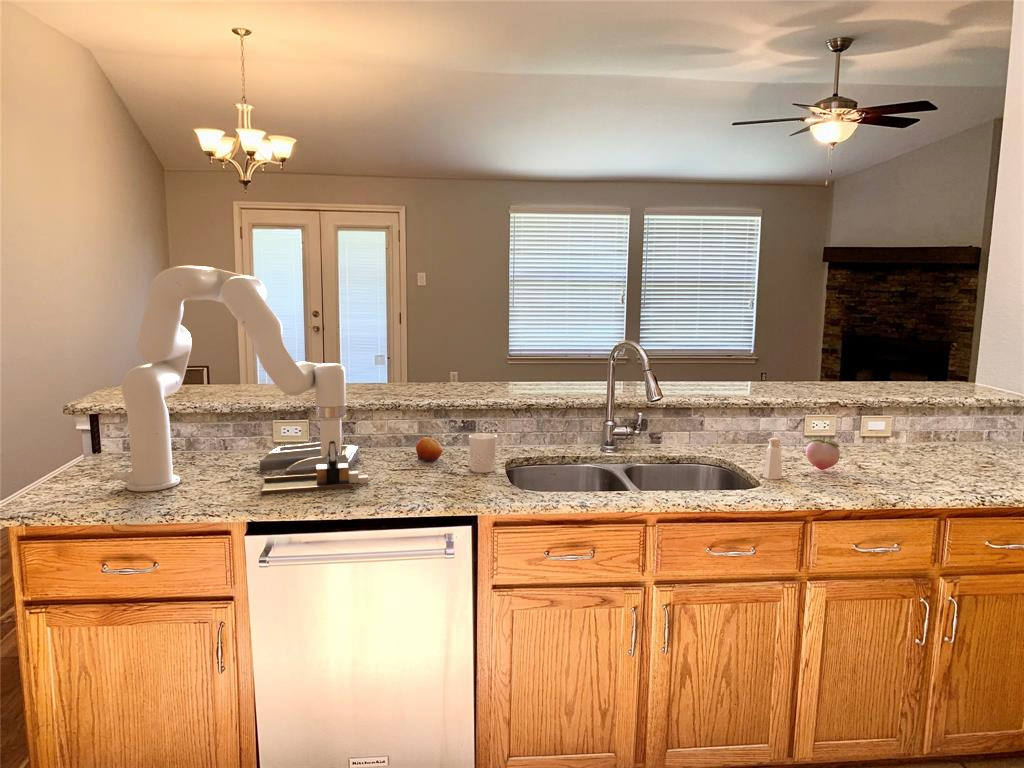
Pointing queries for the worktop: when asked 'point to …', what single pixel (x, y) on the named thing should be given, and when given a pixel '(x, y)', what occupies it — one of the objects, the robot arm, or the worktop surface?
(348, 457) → the emblem
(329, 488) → the slate tray
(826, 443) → the decorative fruit
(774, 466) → the pepper shaker
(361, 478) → the chalk lump
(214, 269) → the robot arm
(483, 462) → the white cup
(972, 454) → the worktop surface
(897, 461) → the worktop surface
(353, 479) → the chalk lump
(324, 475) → the eraser
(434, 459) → the fruit
